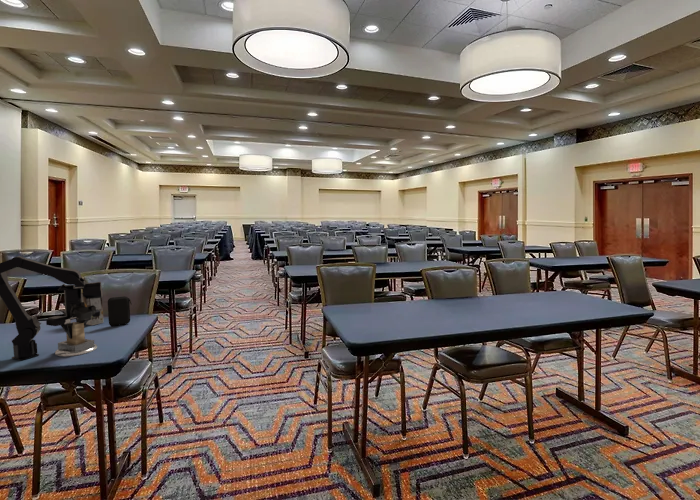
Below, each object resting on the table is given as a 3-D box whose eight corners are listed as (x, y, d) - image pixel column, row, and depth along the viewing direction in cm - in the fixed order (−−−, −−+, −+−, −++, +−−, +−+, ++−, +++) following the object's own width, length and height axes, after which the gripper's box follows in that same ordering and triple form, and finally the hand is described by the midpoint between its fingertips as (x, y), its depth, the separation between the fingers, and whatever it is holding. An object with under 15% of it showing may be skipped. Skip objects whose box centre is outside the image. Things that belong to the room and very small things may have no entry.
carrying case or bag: (132, 322, 213) (130, 295, 212) (133, 323, 210) (131, 295, 209) (108, 326, 206) (106, 297, 205) (109, 327, 204) (107, 298, 203)
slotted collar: (70, 358, 160) (69, 349, 159) (47, 353, 165) (46, 344, 165) (104, 347, 173) (104, 338, 172) (82, 343, 178) (81, 335, 178)
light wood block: (76, 346, 166) (75, 325, 165) (67, 345, 168) (65, 323, 167) (85, 344, 169) (83, 323, 168) (75, 342, 171) (74, 321, 171)
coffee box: (104, 322, 213) (102, 292, 212) (91, 325, 207) (89, 294, 206) (93, 320, 217) (92, 291, 216) (81, 323, 212) (79, 293, 210)
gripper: (62, 306, 155) (65, 346, 157) (108, 297, 173) (110, 333, 174) (44, 304, 160) (46, 342, 161) (90, 295, 177) (92, 330, 178)
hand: (75, 337), depth 168 cm, fingers closed on light wood block, 3 cm apart
